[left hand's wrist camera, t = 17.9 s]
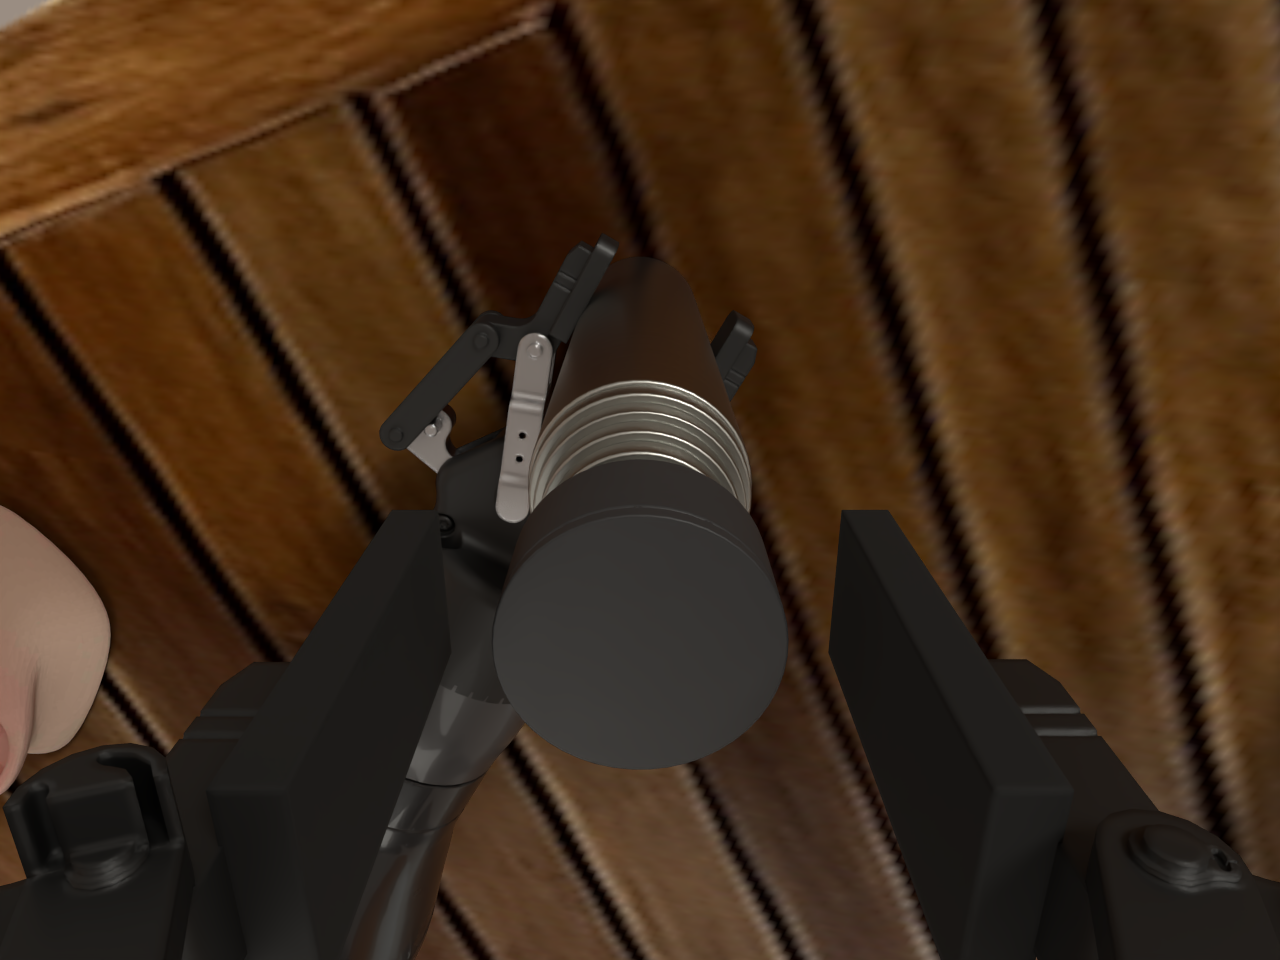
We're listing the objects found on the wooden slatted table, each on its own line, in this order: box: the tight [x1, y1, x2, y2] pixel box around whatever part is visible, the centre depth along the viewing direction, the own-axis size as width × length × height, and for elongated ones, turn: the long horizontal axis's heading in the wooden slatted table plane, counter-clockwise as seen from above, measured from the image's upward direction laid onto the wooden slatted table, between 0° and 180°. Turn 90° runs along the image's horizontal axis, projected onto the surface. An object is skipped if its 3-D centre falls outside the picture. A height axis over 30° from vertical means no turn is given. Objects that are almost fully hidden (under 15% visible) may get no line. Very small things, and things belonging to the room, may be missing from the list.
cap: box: [492, 459, 788, 769], centre depth 14 cm, size 4×4×2 cm
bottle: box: [528, 257, 752, 514], centre depth 25 cm, size 5×5×25 cm
